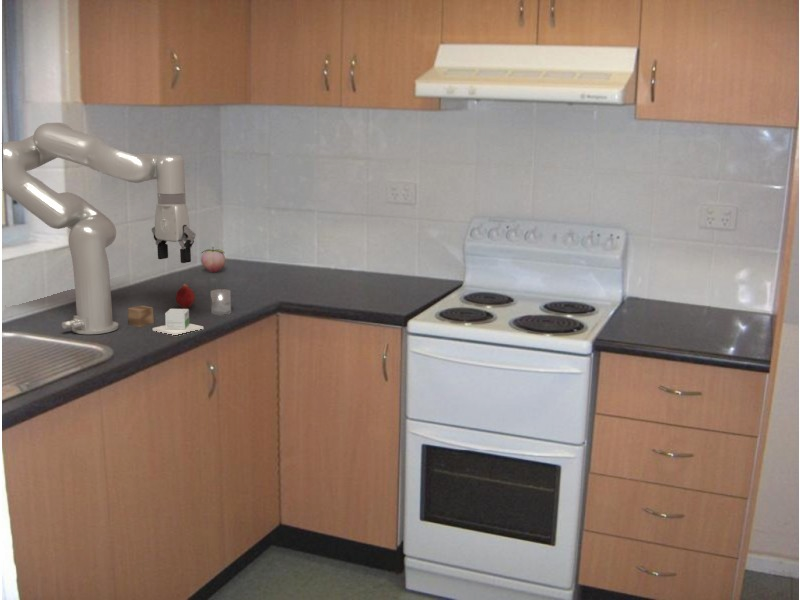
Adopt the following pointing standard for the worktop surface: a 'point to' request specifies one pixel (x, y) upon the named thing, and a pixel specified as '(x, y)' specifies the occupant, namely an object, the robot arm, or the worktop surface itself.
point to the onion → (185, 297)
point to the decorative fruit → (213, 259)
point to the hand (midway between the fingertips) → (174, 260)
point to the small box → (177, 319)
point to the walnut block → (140, 316)
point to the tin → (220, 302)
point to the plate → (175, 332)
